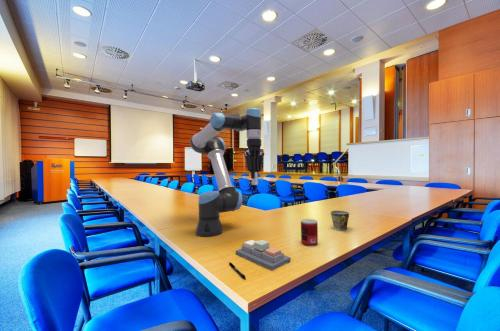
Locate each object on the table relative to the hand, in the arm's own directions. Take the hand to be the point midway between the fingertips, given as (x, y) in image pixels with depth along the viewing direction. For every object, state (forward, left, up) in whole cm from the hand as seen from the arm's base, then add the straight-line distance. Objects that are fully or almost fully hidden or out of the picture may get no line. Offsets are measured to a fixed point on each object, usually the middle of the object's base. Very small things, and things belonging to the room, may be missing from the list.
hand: (254, 184), depth 111 cm
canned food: (+22, +15, -29) cm, 39 cm away
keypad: (+17, -13, -28) cm, 36 cm away
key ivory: (+11, -13, -26) cm, 31 cm away
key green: (+17, -13, -25) cm, 33 cm away
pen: (+19, -28, -29) cm, 44 cm away
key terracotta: (+23, -13, -26) cm, 37 cm away
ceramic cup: (+23, +47, -29) cm, 60 cm away
